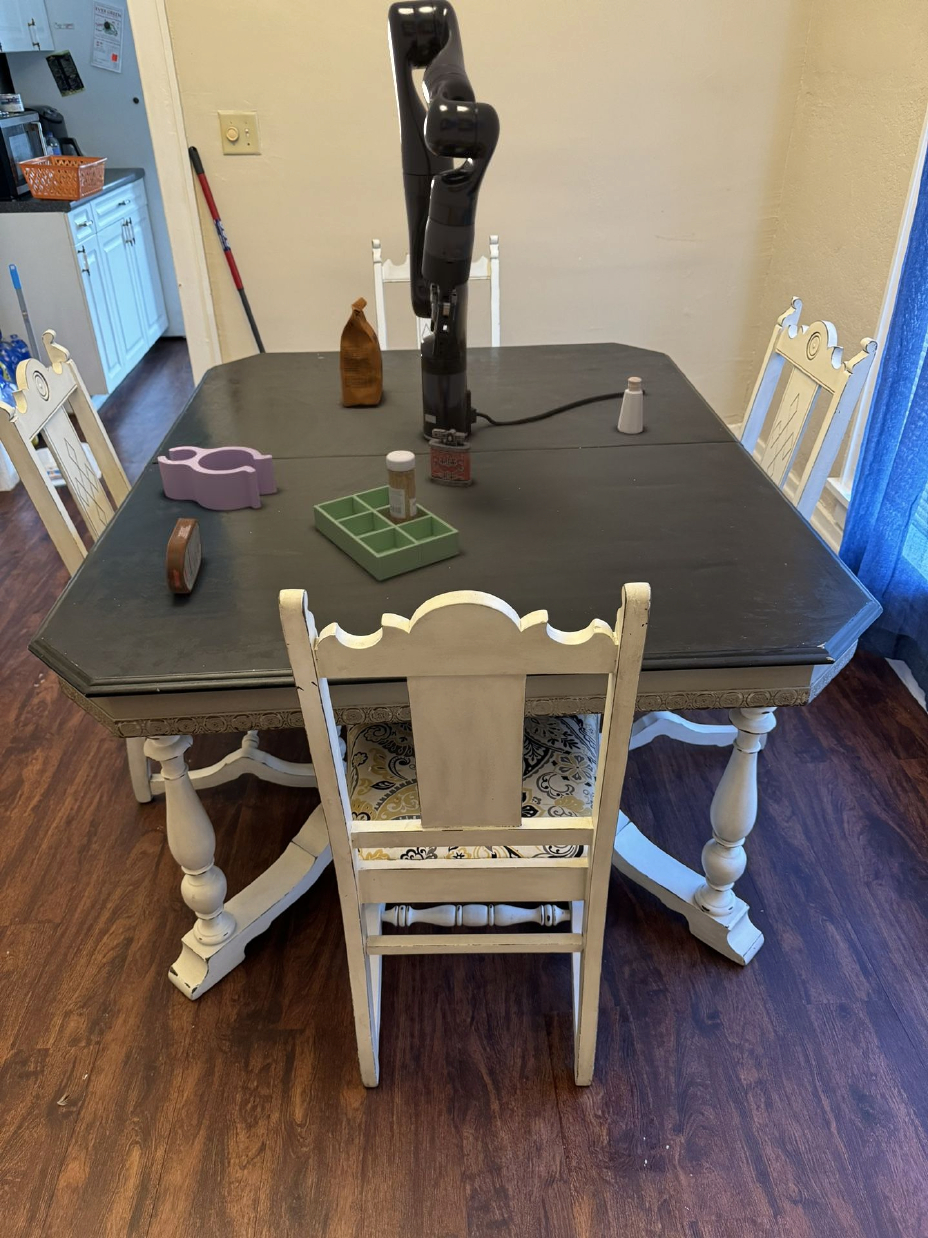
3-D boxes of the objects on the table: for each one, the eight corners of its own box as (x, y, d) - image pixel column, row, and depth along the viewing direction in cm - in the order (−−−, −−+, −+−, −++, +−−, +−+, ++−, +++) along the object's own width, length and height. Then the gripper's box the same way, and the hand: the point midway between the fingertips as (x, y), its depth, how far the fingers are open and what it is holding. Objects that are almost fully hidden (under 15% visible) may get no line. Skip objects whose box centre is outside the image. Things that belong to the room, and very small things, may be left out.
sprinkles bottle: (423, 532, 145) (420, 456, 137) (399, 539, 143) (395, 462, 135) (409, 521, 148) (405, 447, 141) (385, 528, 146) (380, 453, 138)
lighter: (473, 480, 164) (473, 429, 158) (467, 487, 161) (467, 436, 156) (433, 474, 166) (432, 424, 161) (427, 481, 164) (425, 431, 158)
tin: (188, 555, 140) (178, 508, 136) (208, 554, 140) (199, 507, 136) (170, 605, 128) (158, 554, 123) (191, 603, 128) (181, 553, 123)
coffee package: (389, 391, 207) (384, 295, 195) (380, 409, 197) (374, 309, 185) (348, 390, 208) (340, 295, 196) (337, 408, 198) (328, 308, 186)
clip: (152, 501, 157) (144, 466, 153) (188, 474, 167) (181, 440, 163) (252, 514, 153) (247, 477, 149) (283, 485, 163) (278, 450, 159)
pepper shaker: (614, 432, 184) (619, 380, 178) (620, 423, 188) (625, 373, 182) (639, 435, 182) (645, 383, 176) (645, 426, 187) (650, 376, 180)
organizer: (390, 505, 155) (389, 484, 153) (459, 553, 140) (458, 531, 138) (315, 527, 148) (313, 505, 146) (379, 580, 133) (377, 557, 131)
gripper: (422, 225, 138) (413, 321, 149) (426, 265, 128) (416, 364, 139) (469, 230, 139) (457, 325, 150) (476, 269, 129) (463, 368, 140)
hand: (437, 344), depth 145 cm, fingers open, 8 cm apart
